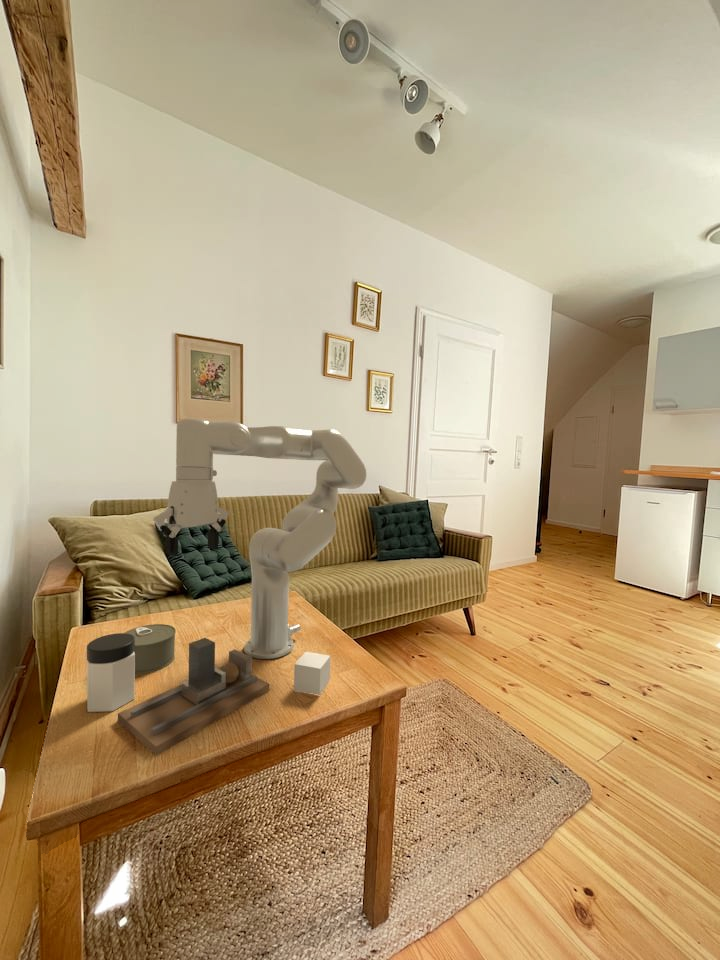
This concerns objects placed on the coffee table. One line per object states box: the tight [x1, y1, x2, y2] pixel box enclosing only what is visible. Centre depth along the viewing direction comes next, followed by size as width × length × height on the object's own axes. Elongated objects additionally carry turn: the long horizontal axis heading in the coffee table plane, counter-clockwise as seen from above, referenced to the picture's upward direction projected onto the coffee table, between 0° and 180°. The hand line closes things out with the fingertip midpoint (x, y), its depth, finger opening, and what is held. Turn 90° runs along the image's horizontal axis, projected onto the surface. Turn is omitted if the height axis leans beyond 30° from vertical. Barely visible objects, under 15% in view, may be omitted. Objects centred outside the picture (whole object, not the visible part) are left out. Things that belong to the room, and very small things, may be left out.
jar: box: [86, 632, 136, 713], centre depth 79 cm, size 9×8×12 cm
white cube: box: [293, 651, 331, 696], centre depth 86 cm, size 6×6×6 cm
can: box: [124, 623, 177, 676], centre depth 94 cm, size 12×12×7 cm
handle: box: [180, 637, 226, 705], centre depth 79 cm, size 6×6×10 cm
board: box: [117, 649, 270, 756], centre depth 78 cm, size 24×14×6 cm, turn 144°
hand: (193, 551), depth 88 cm, fingers open, 9 cm apart
